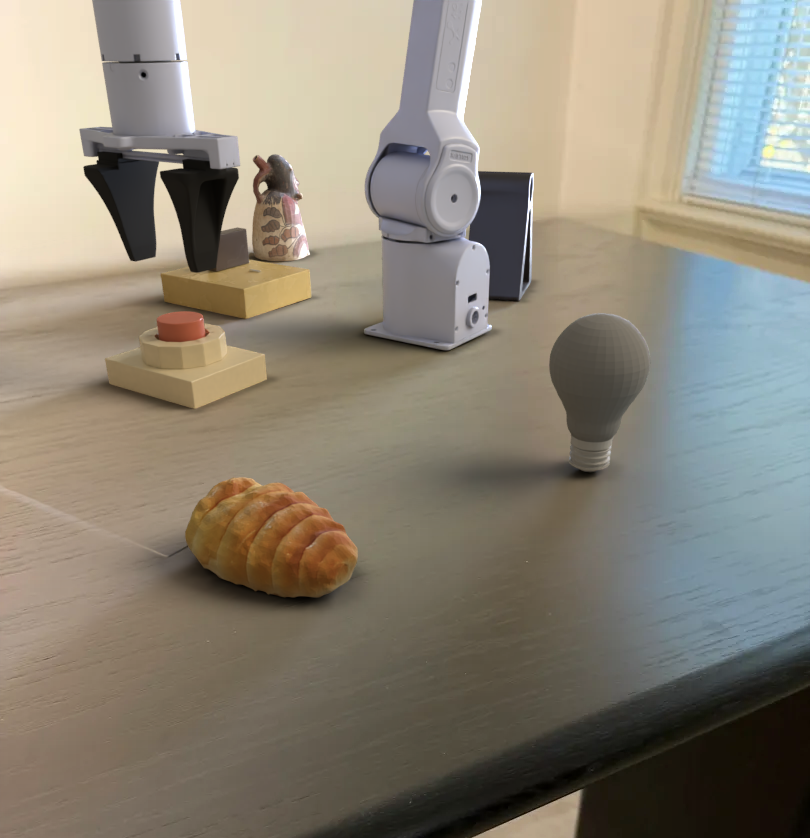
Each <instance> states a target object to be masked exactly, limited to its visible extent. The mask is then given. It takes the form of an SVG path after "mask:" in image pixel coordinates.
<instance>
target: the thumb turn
mask: <svg viewBox="0 0 810 838" xmlns="http://www.w3.org/2000/svg"><path fill="white" fill-rule="evenodd" d="M249 260H250V255H249V245H248V234H247V228H244V227H233V228H229V229H225V230H221V235H220V241H219V249H218V257H217V265H216V268H214V269H210V270H209V271H215V272H217V271H221V270H225V269H228V268H232V267H236V266H240V265H243V264H247V263H249Z"/></svg>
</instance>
